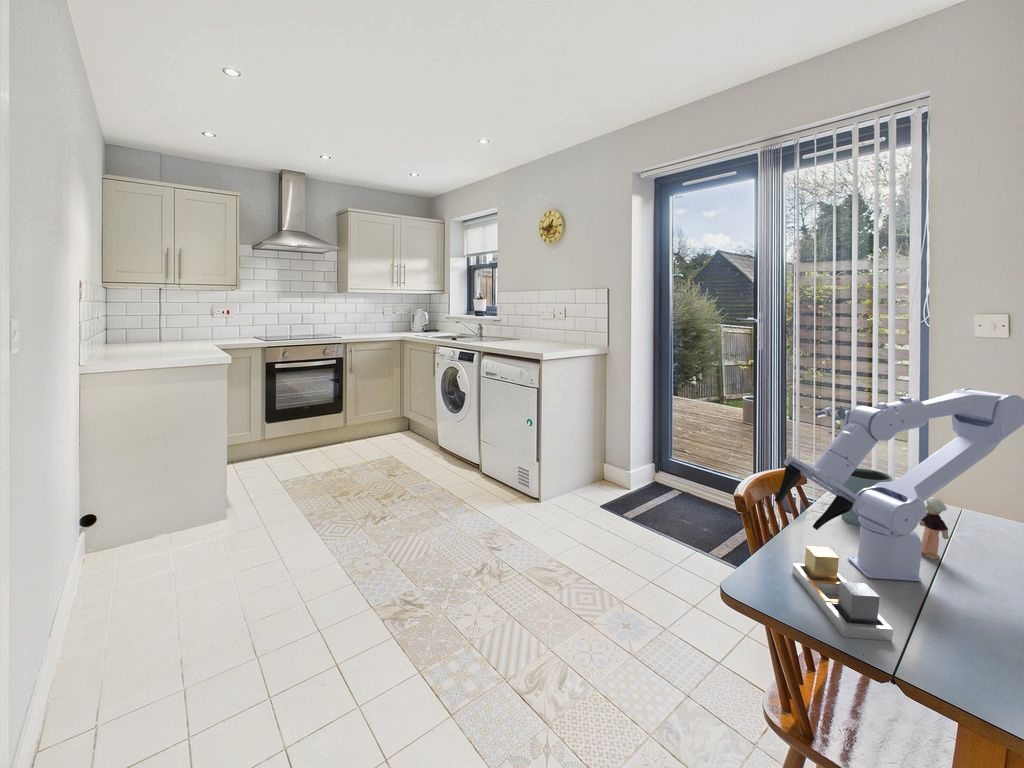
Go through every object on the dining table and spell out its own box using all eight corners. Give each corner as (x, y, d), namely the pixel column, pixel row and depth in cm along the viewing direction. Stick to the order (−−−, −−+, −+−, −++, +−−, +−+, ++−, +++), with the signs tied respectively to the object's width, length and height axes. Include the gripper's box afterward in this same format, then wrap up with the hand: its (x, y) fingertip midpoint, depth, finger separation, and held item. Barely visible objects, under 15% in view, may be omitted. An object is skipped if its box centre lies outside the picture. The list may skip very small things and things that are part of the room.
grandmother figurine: (905, 547, 109) (911, 492, 107) (921, 546, 109) (927, 491, 107) (937, 564, 101) (944, 505, 99) (955, 564, 101) (962, 504, 100)
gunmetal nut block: (862, 619, 83) (865, 583, 82) (876, 634, 79) (879, 596, 78) (836, 617, 84) (839, 581, 83) (848, 632, 80) (852, 594, 79)
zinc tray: (830, 575, 97) (831, 564, 97) (891, 641, 78) (893, 628, 77) (792, 572, 98) (793, 562, 98) (843, 637, 79) (844, 624, 78)
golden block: (825, 579, 96) (828, 547, 95) (835, 590, 92) (838, 557, 91) (803, 577, 97) (806, 546, 96) (812, 588, 93) (815, 556, 92)
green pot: (832, 519, 123) (836, 473, 122) (844, 508, 130) (848, 464, 129) (882, 532, 116) (887, 483, 114) (891, 520, 123) (896, 473, 121)
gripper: (801, 432, 97) (757, 486, 97) (881, 477, 87) (831, 537, 87) (805, 443, 102) (763, 494, 102) (880, 486, 92) (833, 543, 93)
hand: (795, 514), depth 95 cm, fingers open, 7 cm apart
